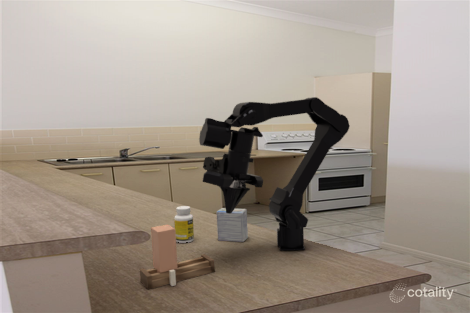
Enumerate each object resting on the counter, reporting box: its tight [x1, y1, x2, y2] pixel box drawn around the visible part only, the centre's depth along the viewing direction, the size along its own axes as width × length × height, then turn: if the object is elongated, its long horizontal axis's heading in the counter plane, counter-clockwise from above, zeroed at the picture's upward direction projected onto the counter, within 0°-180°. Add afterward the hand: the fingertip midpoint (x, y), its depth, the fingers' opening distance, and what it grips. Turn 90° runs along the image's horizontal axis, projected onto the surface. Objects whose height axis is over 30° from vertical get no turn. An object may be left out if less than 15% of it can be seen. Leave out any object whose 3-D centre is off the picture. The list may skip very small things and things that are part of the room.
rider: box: [150, 224, 178, 273], centre depth 90 cm, size 4×4×10 cm
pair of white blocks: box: [169, 269, 177, 287], centre depth 91 cm, size 1×8×3 cm, turn 31°
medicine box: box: [216, 207, 249, 243], centre depth 118 cm, size 8×4×9 cm, turn 71°
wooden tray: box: [139, 253, 216, 290], centre depth 92 cm, size 16×5×3 cm, turn 121°
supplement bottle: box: [173, 205, 195, 244], centre depth 118 cm, size 5×5×10 cm
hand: (228, 213), depth 103 cm, fingers closed
